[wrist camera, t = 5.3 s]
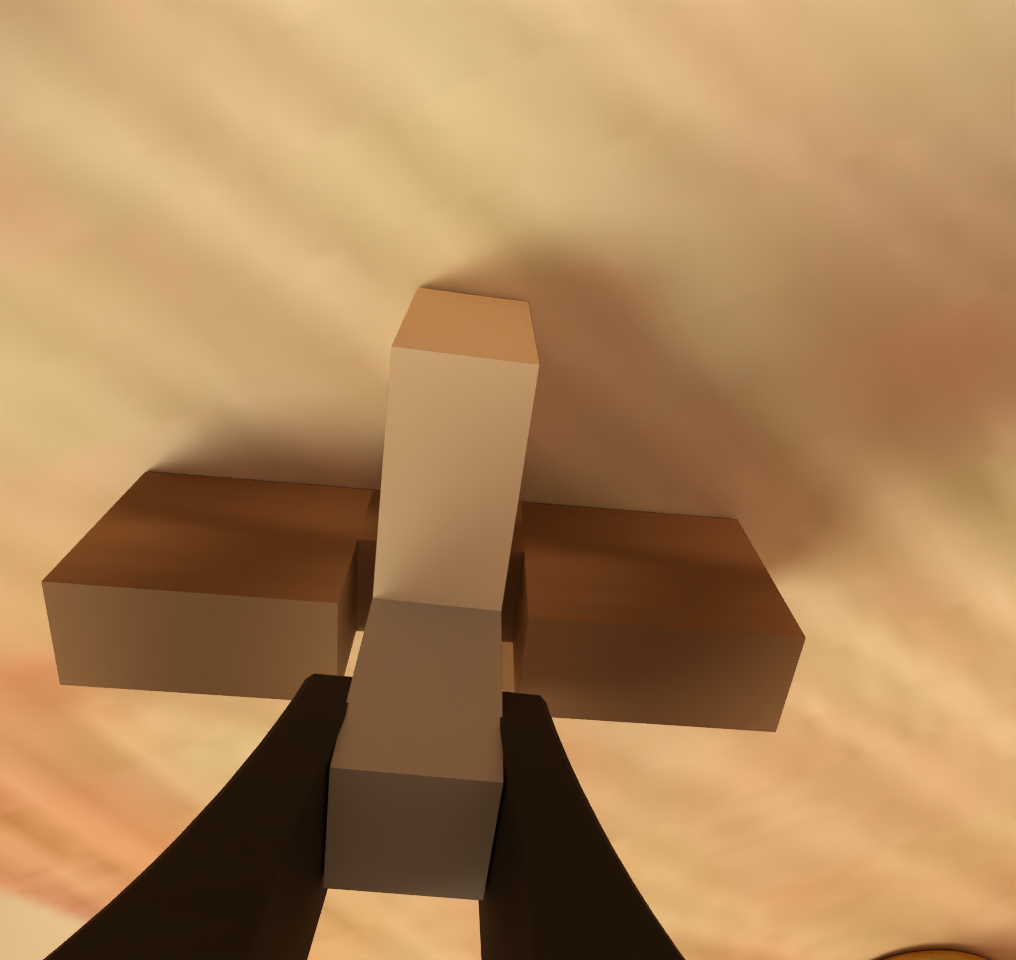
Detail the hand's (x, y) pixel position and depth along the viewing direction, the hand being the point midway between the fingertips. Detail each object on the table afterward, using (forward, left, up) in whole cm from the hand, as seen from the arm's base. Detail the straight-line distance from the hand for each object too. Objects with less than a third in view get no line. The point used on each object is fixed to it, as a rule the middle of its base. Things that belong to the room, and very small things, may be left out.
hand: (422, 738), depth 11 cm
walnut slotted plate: (0, 0, -6) cm, 6 cm away
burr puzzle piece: (0, 0, -6) cm, 6 cm away
